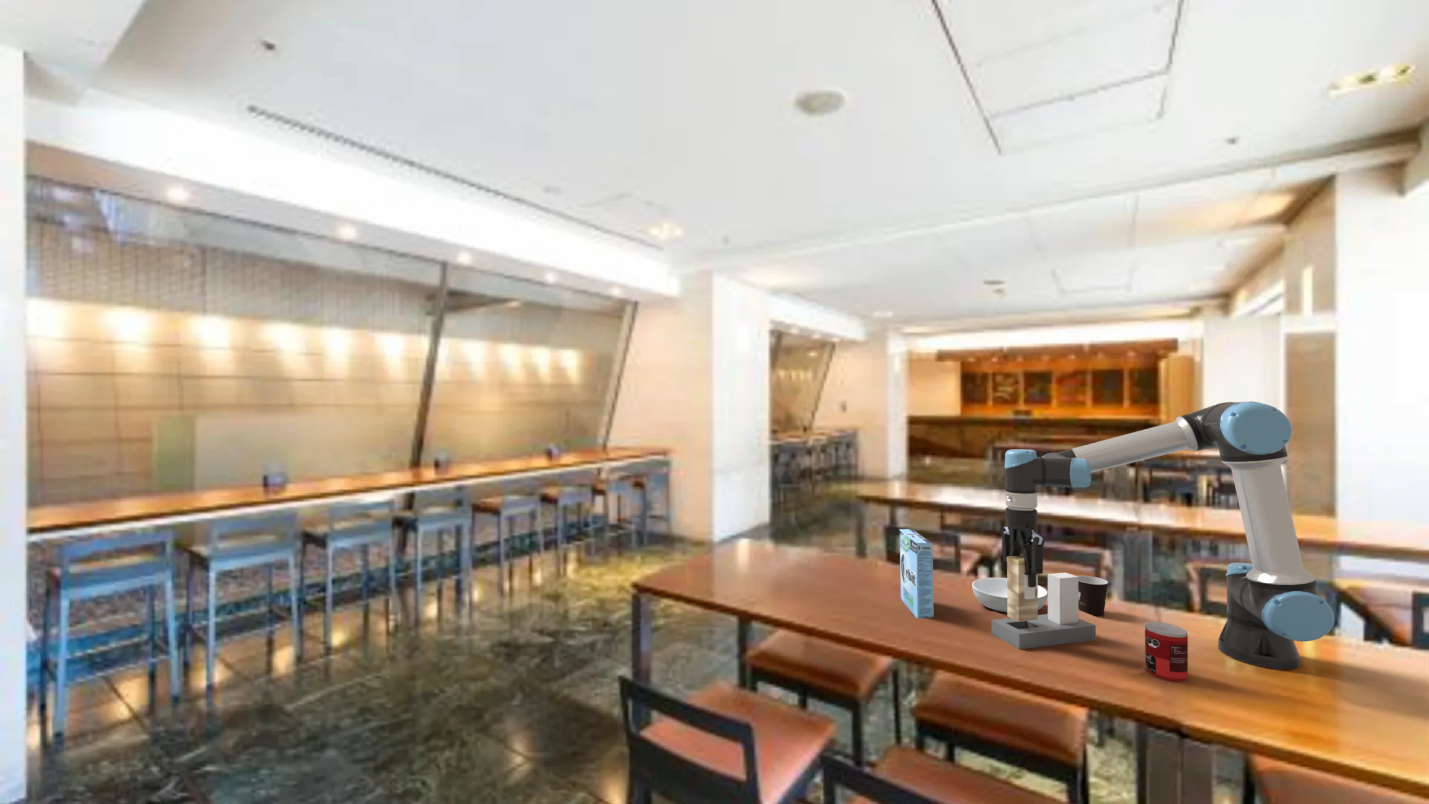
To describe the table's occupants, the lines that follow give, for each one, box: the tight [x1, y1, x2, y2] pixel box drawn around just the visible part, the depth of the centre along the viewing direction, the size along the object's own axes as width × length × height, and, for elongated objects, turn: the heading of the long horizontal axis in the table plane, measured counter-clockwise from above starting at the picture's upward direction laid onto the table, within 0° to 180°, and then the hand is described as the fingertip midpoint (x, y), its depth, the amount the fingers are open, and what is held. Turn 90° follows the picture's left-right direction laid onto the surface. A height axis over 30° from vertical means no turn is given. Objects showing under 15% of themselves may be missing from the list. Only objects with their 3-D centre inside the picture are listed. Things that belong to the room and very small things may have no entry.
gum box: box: [899, 528, 935, 620], centre depth 181 cm, size 20×5×23 cm, turn 177°
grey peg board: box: [991, 613, 1097, 650], centre depth 156 cm, size 10×24×5 cm, turn 104°
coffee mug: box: [1076, 575, 1109, 618], centre depth 179 cm, size 12×9×10 cm
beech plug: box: [1006, 554, 1039, 622], centre depth 155 cm, size 4×6×16 cm
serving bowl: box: [971, 577, 1048, 614], centre depth 181 cm, size 21×21×7 cm
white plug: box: [1047, 572, 1079, 625], centre depth 158 cm, size 4×6×16 cm, turn 104°
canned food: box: [1144, 621, 1189, 683], centre depth 137 cm, size 8×8×11 cm
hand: (1022, 595), depth 155 cm, fingers closed on beech plug, 4 cm apart
